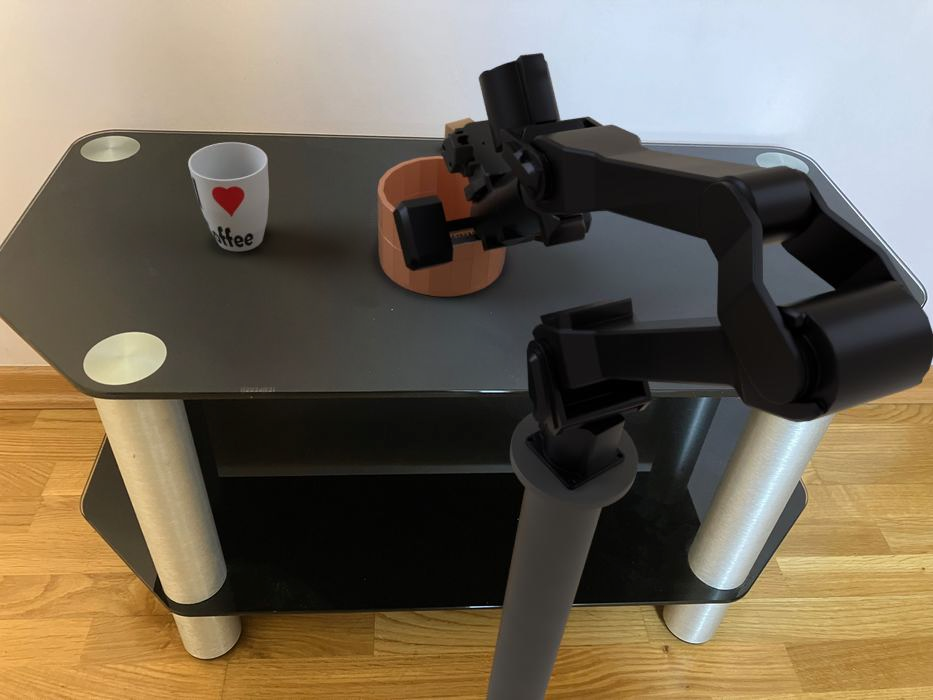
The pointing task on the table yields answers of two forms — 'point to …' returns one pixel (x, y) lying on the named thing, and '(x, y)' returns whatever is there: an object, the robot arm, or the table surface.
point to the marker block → (456, 125)
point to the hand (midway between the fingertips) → (466, 236)
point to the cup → (232, 192)
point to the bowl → (433, 178)
